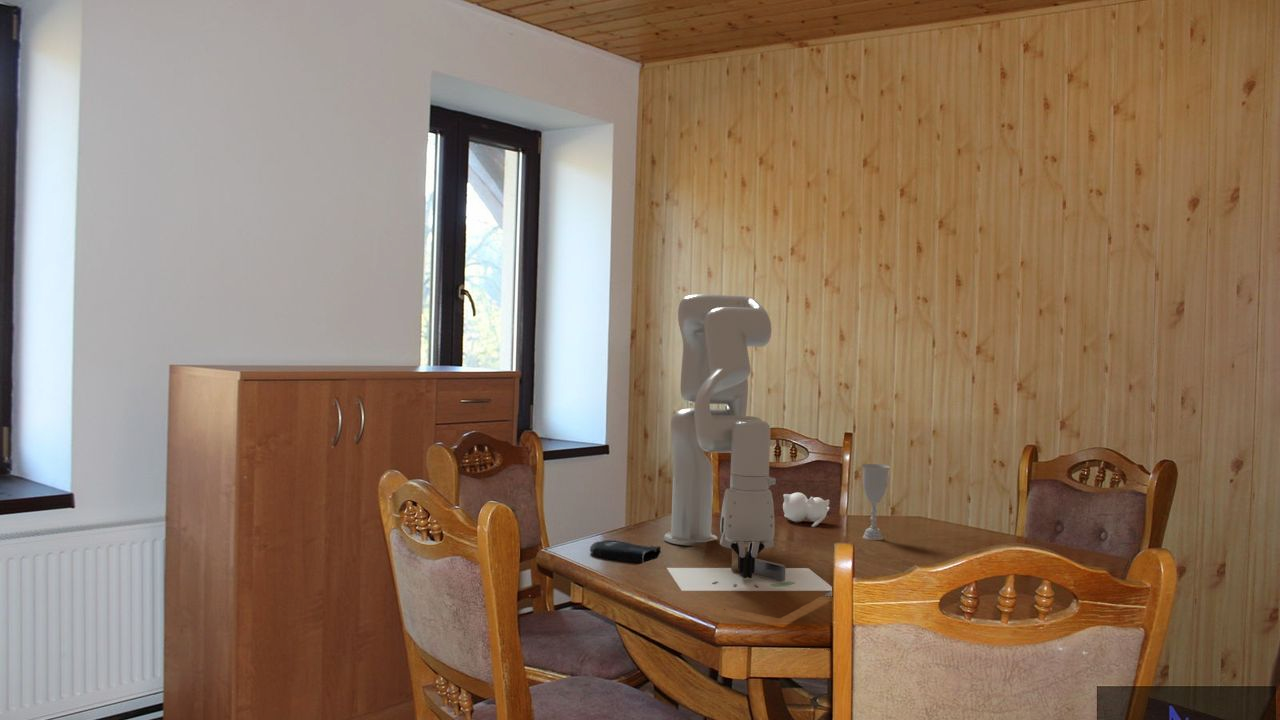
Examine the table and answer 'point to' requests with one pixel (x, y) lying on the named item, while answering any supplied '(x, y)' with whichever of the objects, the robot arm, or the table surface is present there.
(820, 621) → the table surface
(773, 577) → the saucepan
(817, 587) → the dial board
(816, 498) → the cat figurine
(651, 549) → the electronic device
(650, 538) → the table surface
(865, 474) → the chalice
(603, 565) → the table surface
